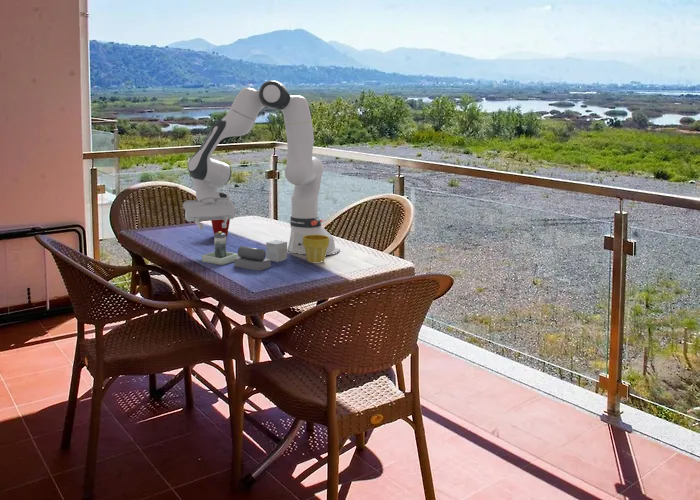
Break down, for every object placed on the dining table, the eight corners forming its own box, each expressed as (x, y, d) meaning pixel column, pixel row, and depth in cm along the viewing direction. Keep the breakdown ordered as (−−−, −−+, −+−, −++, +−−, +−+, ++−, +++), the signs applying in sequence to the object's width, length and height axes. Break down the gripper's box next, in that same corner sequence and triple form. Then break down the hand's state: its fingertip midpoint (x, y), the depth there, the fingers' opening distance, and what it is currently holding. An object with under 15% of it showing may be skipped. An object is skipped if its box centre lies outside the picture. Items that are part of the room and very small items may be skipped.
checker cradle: (270, 266, 256) (270, 248, 255) (259, 270, 250) (259, 251, 249) (246, 262, 262) (245, 244, 261) (234, 266, 256) (233, 247, 255)
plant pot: (328, 258, 272) (329, 234, 270) (328, 264, 262) (329, 239, 260) (303, 257, 272) (303, 234, 269) (302, 264, 261) (302, 239, 259)
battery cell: (228, 258, 265) (228, 231, 262) (221, 260, 261) (220, 233, 259) (220, 256, 267) (219, 230, 265) (212, 259, 263) (211, 232, 261)
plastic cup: (230, 239, 303) (230, 212, 300) (206, 238, 303) (206, 212, 300) (235, 234, 314) (234, 208, 311) (212, 233, 314) (211, 208, 311)
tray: (238, 259, 266) (238, 253, 265) (221, 265, 258) (221, 258, 257) (219, 256, 271) (219, 250, 270) (201, 261, 262) (201, 255, 262)
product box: (265, 260, 267) (265, 242, 265) (275, 257, 272) (275, 239, 270) (277, 262, 264) (277, 244, 262) (287, 259, 268) (287, 241, 267)
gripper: (182, 196, 272) (187, 225, 266) (232, 194, 280) (238, 222, 274) (181, 205, 277) (186, 233, 271) (230, 202, 285) (236, 230, 279)
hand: (213, 228), depth 273 cm, fingers open, 8 cm apart
